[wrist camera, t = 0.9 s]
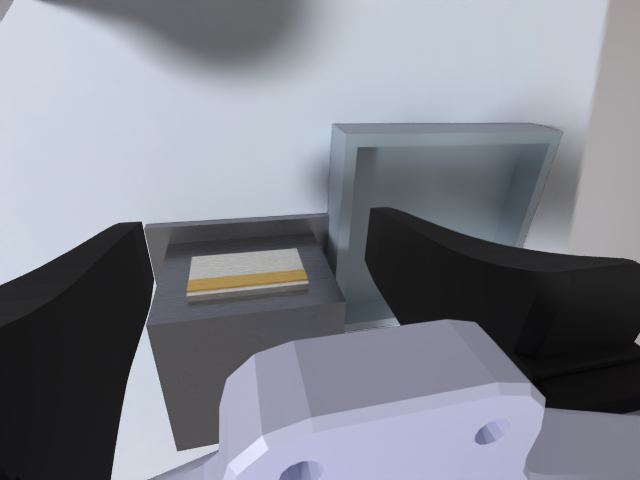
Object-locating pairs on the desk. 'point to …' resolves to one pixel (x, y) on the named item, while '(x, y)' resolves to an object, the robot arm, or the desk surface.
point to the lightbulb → (4, 7)
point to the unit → (233, 305)
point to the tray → (429, 191)
